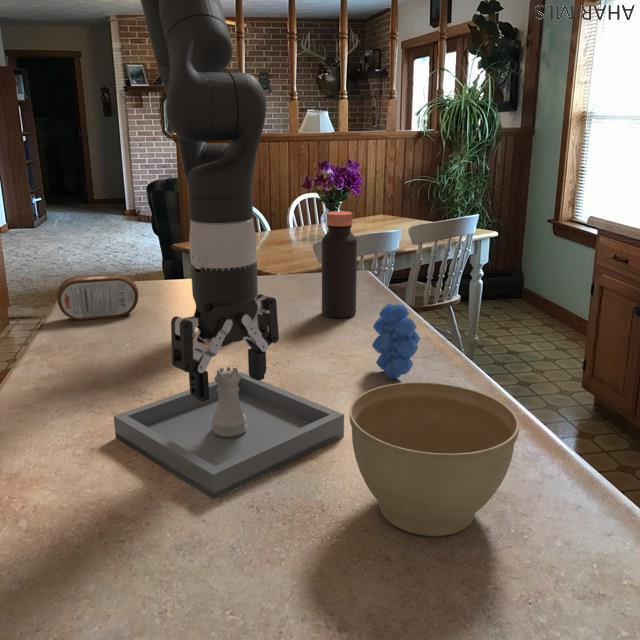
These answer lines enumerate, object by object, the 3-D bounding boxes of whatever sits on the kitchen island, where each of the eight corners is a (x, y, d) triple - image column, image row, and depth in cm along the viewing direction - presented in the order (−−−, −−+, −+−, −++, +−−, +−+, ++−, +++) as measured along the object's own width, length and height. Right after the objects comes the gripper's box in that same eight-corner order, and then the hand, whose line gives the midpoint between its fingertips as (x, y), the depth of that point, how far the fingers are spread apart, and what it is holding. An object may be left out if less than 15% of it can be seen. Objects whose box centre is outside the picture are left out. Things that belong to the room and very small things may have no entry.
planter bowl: (477, 584, 58) (486, 471, 55) (318, 525, 66) (318, 424, 63) (529, 496, 71) (539, 401, 68) (391, 456, 79) (394, 370, 76)
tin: (139, 311, 136) (136, 270, 133) (140, 316, 133) (137, 274, 131) (59, 318, 131) (54, 276, 129) (59, 323, 129) (54, 280, 126)
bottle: (362, 312, 135) (364, 212, 129) (344, 321, 130) (346, 216, 124) (333, 307, 139) (333, 209, 133) (315, 315, 133) (314, 213, 127)
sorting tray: (241, 391, 97) (240, 372, 97) (343, 436, 84) (344, 414, 83) (115, 437, 84) (113, 415, 83) (214, 500, 70) (213, 474, 70)
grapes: (437, 389, 98) (441, 310, 95) (395, 395, 96) (398, 314, 93) (401, 362, 109) (404, 289, 105) (363, 367, 107) (364, 293, 103)
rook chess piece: (241, 440, 81) (239, 379, 79) (206, 437, 82) (203, 376, 80) (252, 424, 86) (250, 365, 83) (218, 421, 86) (216, 362, 84)
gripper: (250, 244, 85) (254, 365, 90) (151, 263, 75) (162, 397, 80) (291, 253, 80) (293, 380, 85) (191, 274, 70) (200, 417, 75)
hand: (229, 388), depth 82 cm, fingers open, 8 cm apart
